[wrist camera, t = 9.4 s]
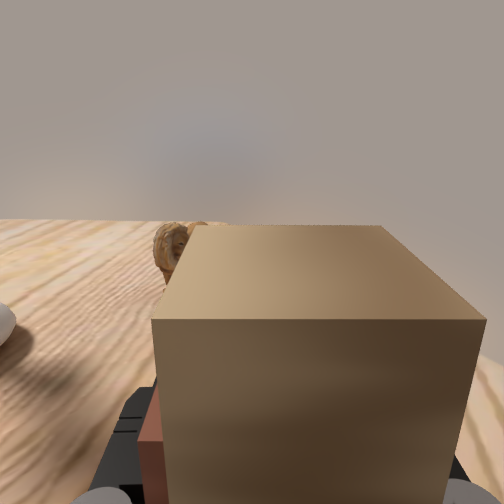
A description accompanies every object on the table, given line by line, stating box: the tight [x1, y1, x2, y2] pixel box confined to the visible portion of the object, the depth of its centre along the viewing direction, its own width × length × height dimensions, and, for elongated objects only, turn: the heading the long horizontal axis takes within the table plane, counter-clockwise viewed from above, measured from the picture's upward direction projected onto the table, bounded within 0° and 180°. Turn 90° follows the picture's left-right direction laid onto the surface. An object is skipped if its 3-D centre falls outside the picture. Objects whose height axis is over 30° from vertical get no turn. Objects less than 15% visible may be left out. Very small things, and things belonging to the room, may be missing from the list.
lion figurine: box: [153, 222, 208, 293], centre depth 46 cm, size 15×5×9 cm, turn 172°
